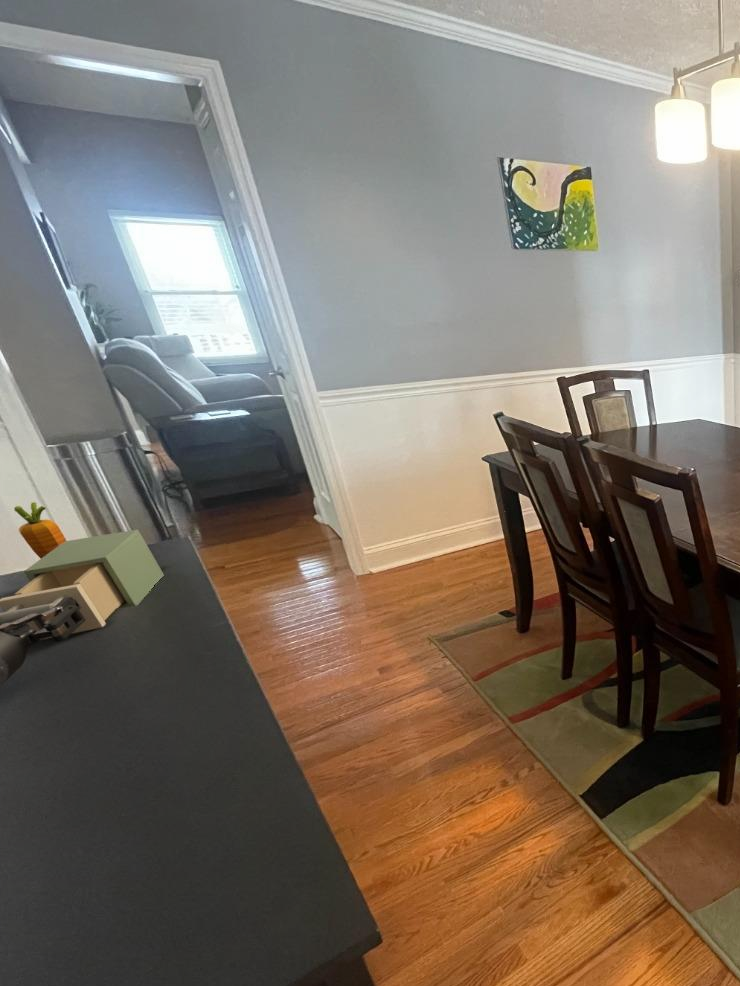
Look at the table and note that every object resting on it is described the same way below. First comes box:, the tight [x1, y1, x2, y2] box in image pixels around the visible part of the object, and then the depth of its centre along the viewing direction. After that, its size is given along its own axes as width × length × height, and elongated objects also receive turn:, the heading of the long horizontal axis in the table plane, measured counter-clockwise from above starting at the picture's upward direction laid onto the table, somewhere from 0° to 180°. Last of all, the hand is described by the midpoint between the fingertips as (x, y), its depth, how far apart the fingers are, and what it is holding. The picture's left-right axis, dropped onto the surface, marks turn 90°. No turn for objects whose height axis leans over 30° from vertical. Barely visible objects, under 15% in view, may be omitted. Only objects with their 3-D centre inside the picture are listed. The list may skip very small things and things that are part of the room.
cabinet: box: [23, 529, 165, 609], centre depth 103 cm, size 13×10×10 cm
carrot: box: [13, 501, 67, 559], centre depth 109 cm, size 5×5×15 cm
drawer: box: [0, 562, 125, 640], centre depth 93 cm, size 16×9×8 cm, turn 25°
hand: (34, 610), depth 87 cm, fingers open, 8 cm apart
